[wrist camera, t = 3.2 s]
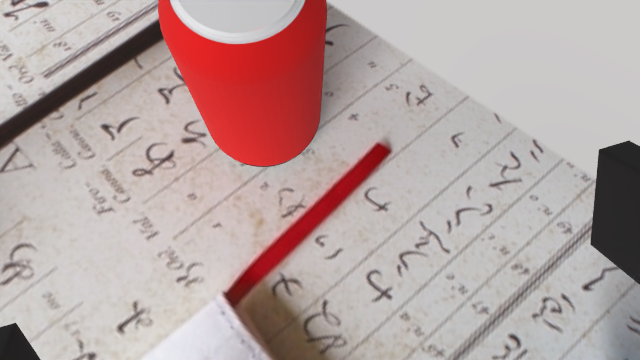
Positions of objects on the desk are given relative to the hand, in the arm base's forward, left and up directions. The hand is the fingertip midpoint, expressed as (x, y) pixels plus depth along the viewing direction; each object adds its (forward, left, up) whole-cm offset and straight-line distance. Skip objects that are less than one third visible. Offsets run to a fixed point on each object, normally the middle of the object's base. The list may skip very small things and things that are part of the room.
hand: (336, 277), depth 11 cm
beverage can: (0, -11, -15) cm, 18 cm away
